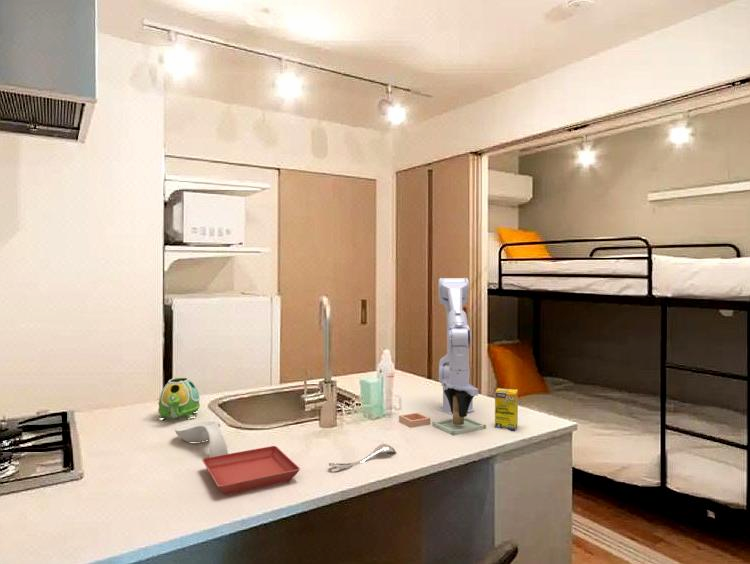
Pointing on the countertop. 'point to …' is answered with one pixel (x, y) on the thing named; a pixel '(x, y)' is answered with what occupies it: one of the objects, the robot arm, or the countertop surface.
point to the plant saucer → (250, 469)
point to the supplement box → (506, 409)
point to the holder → (414, 420)
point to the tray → (459, 426)
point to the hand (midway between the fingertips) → (459, 414)
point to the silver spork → (379, 449)
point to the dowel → (456, 413)
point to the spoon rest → (204, 436)
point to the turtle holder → (178, 399)
